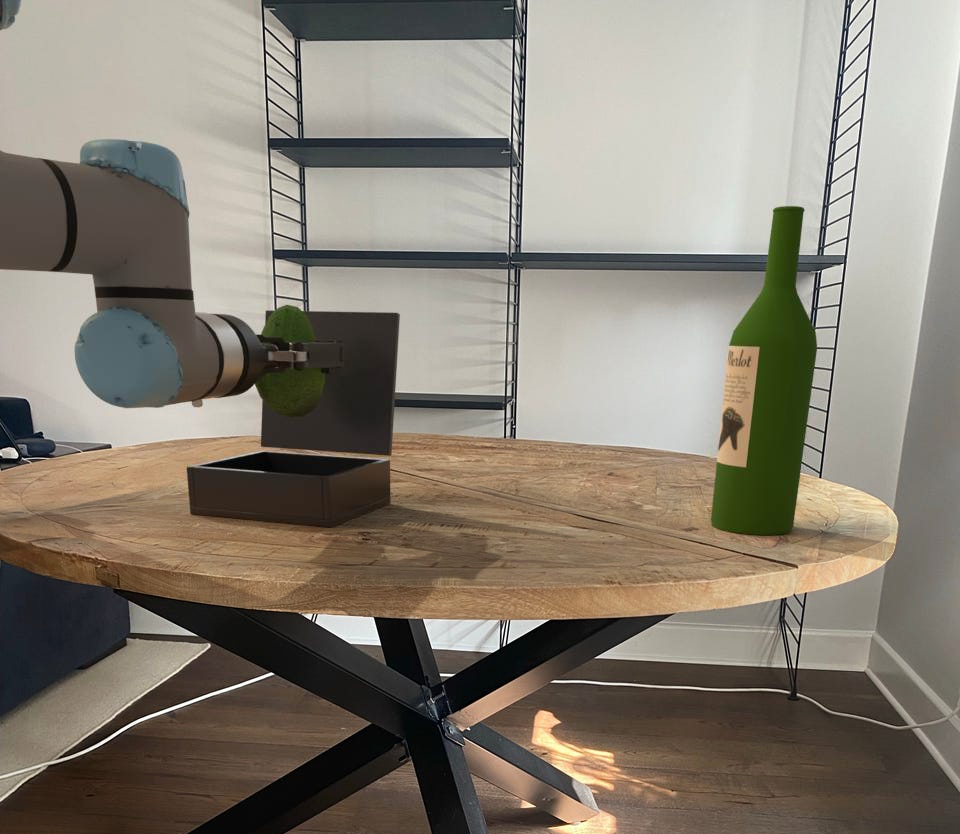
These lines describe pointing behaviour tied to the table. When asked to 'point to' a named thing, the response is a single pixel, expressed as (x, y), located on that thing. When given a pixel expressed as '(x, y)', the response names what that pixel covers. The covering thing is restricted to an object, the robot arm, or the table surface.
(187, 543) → the table surface
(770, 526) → the wine bottle
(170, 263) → the robot arm
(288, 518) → the tin
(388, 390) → the tin lid
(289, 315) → the avocado
